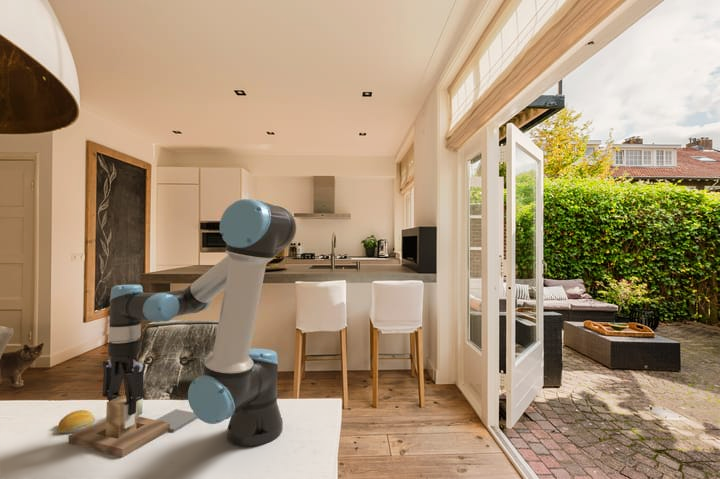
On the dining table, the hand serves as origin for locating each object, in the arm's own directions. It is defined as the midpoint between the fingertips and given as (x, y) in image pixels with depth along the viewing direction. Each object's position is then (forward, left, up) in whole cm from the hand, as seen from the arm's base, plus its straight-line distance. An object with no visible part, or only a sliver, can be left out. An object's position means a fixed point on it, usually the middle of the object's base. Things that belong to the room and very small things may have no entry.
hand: (121, 424), depth 94 cm
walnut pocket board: (0, 0, -3) cm, 3 cm away
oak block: (0, 0, -3) cm, 3 cm away
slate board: (-7, -11, -3) cm, 14 cm away
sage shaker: (+9, -11, -3) cm, 15 cm away
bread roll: (+18, 0, -4) cm, 19 cm away
